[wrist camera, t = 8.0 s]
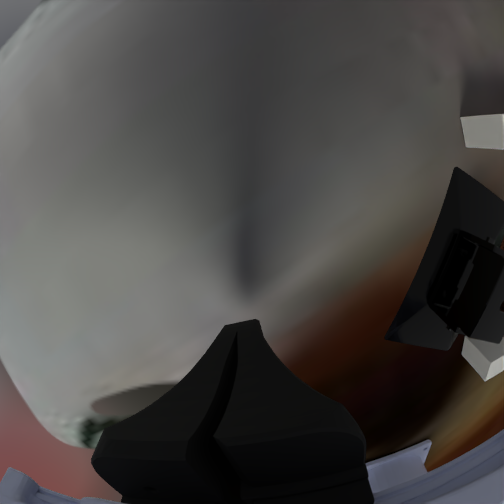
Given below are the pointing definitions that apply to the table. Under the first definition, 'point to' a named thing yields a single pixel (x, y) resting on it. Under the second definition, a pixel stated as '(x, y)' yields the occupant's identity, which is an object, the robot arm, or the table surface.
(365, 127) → the table surface
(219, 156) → the table surface
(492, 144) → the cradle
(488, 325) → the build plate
